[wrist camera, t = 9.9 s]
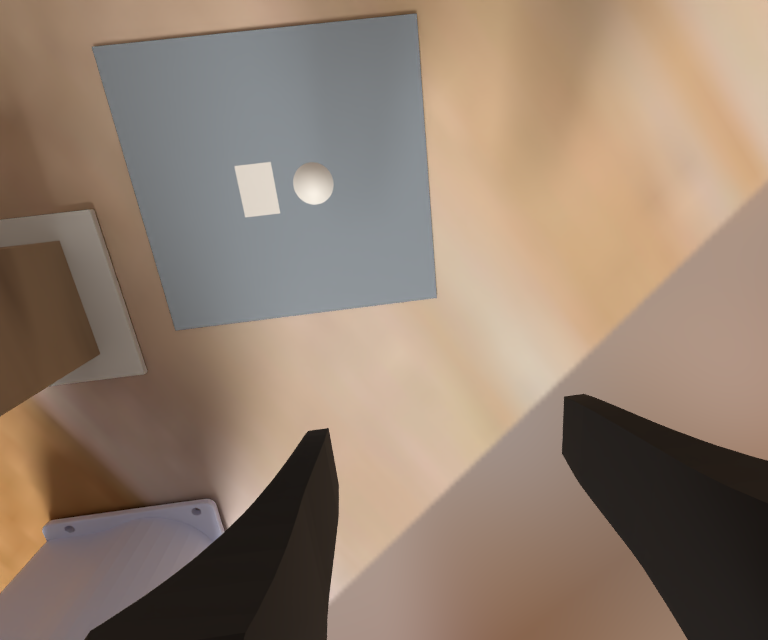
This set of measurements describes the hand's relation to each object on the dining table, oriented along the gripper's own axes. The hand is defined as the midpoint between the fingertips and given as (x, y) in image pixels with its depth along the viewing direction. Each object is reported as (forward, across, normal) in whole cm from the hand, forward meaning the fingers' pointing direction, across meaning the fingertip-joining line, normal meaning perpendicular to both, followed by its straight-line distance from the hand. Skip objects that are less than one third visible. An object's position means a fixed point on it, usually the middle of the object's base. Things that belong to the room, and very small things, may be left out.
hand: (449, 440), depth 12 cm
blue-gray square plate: (+9, +5, -8) cm, 13 cm away
